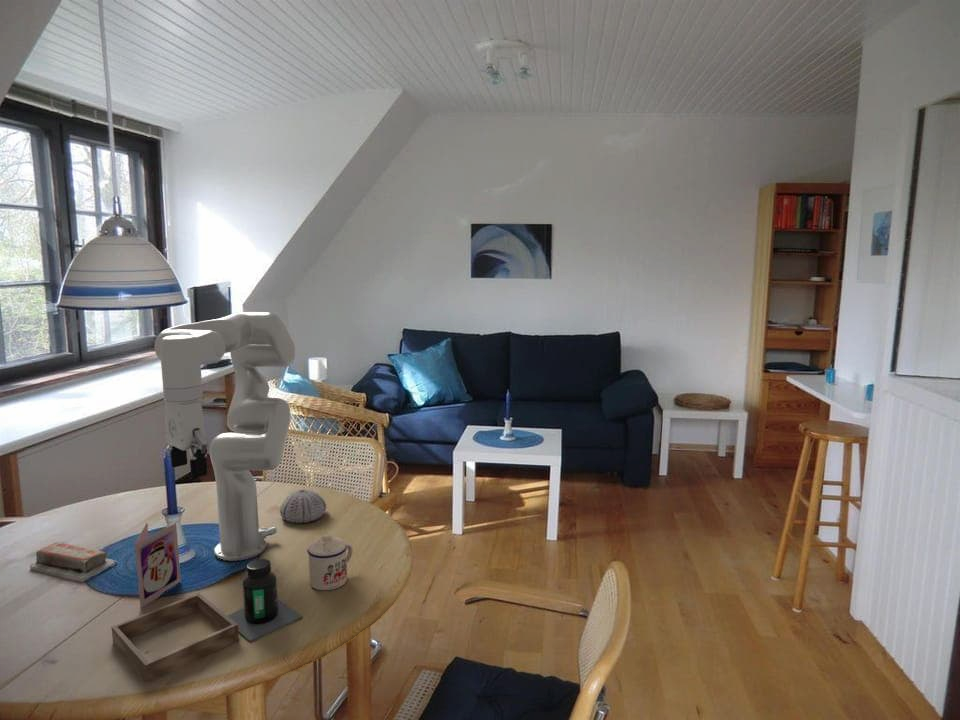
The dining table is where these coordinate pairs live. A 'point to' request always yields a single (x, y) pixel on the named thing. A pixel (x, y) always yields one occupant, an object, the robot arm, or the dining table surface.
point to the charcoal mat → (260, 630)
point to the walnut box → (183, 654)
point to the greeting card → (157, 562)
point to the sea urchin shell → (302, 506)
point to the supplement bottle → (260, 592)
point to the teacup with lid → (328, 562)
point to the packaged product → (70, 561)
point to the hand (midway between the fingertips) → (189, 470)
